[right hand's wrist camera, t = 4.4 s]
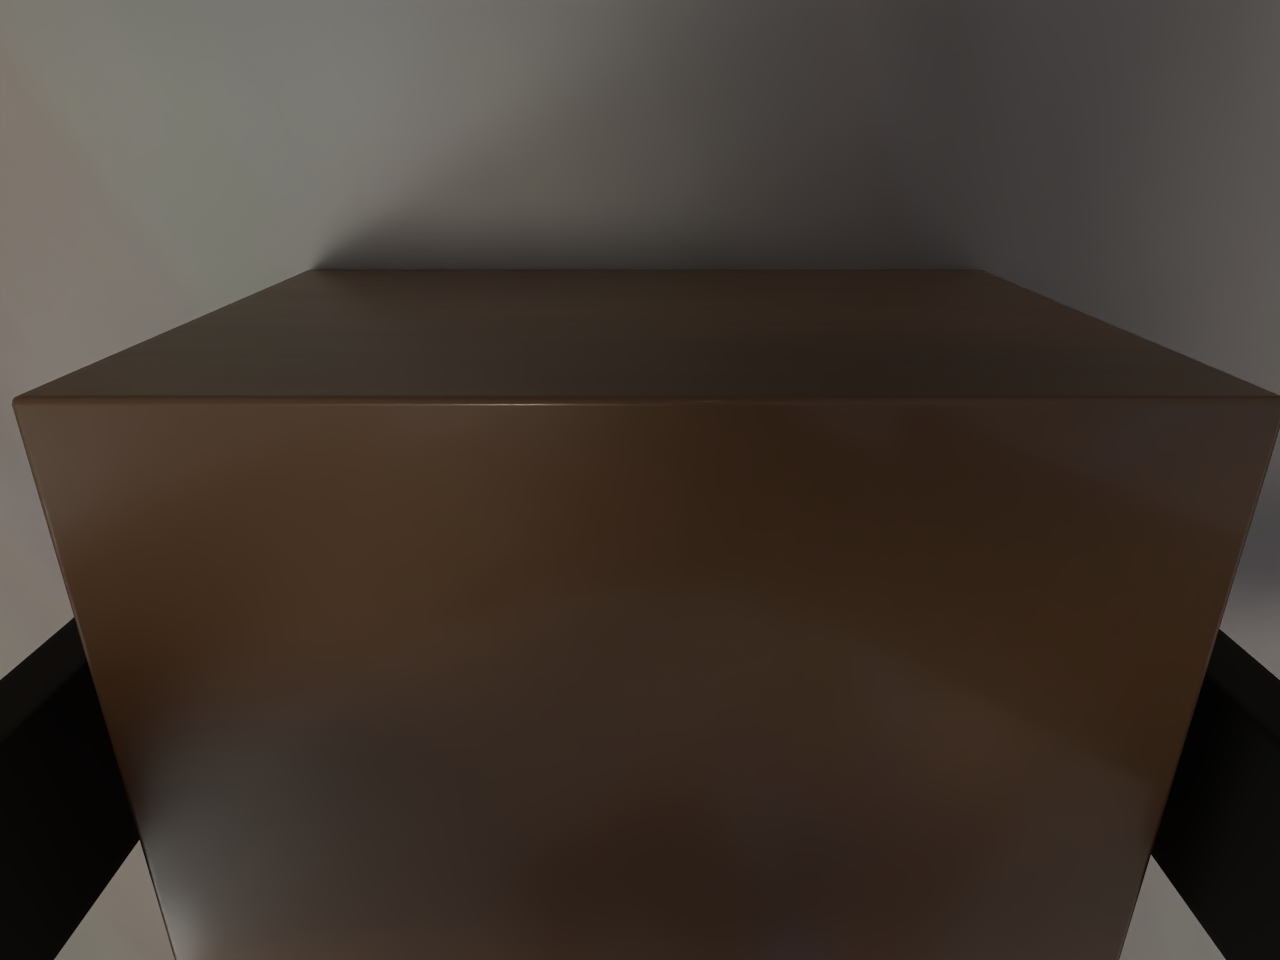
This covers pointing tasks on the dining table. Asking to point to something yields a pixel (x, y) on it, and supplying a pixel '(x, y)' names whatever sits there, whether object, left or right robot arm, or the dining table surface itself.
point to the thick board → (648, 611)
